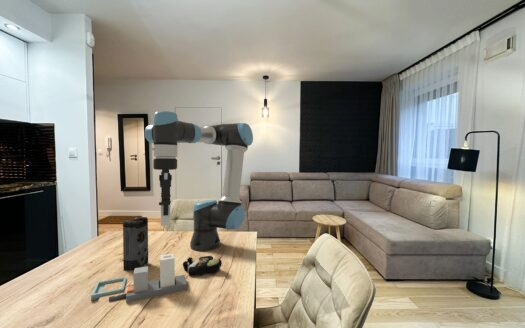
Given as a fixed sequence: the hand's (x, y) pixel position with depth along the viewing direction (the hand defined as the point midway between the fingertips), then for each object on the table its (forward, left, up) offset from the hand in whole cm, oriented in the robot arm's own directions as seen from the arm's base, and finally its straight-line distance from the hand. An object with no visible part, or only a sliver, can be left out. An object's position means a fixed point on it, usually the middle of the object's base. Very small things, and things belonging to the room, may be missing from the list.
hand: (165, 220), depth 82 cm
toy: (-14, -9, -25) cm, 30 cm away
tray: (+17, -8, -24) cm, 31 cm away
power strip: (+5, +1, -24) cm, 25 cm away
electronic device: (+10, -24, -25) cm, 36 cm away
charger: (-1, +1, -23) cm, 23 cm away
